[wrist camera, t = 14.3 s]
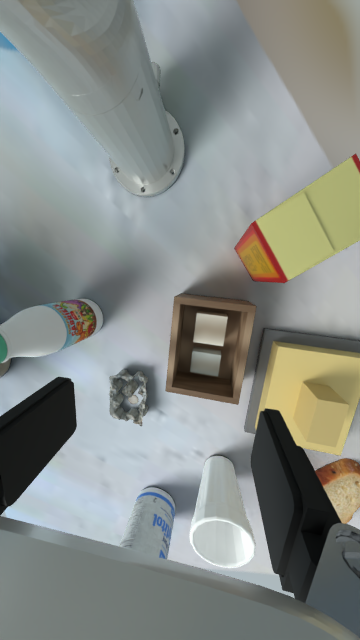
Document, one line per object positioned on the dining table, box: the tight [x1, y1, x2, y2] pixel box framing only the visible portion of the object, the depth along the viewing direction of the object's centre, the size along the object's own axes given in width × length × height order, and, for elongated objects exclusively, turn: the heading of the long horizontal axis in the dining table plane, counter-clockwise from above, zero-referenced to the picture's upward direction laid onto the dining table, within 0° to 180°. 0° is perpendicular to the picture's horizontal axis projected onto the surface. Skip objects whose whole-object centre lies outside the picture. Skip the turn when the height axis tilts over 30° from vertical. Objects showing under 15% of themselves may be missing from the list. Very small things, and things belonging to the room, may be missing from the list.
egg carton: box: [109, 370, 148, 426], centre depth 41 cm, size 11×8×4 cm
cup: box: [190, 456, 256, 568], centre depth 37 cm, size 10×10×13 cm
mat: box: [244, 328, 360, 434], centre depth 36 cm, size 21×17×1 cm
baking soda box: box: [234, 154, 360, 283], centre depth 25 cm, size 10×6×16 cm
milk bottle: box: [0, 299, 103, 363], centre depth 31 cm, size 8×8×20 cm
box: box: [166, 293, 256, 405], centre depth 34 cm, size 16×12×7 cm
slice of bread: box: [315, 458, 360, 524], centre depth 39 cm, size 18×18×4 cm
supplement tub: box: [119, 487, 175, 559], centre depth 41 cm, size 10×10×15 cm
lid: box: [255, 341, 360, 456], centre depth 32 cm, size 18×14×8 cm
